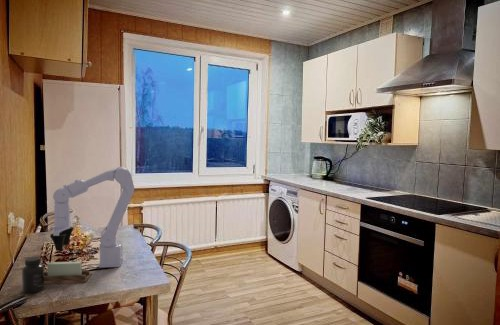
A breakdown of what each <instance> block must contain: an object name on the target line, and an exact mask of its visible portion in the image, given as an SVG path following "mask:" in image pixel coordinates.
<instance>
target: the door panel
mask: <svg viewBox="0 0 500 325" xmlns="http://www.w3.org/2000/svg"><path fill="white" fill-rule="evenodd" d="M82 263H83V262H82V261H53V262H52V261H49V262H48V263H47V265H46V267H47V269H46V270H47V271H46V272H47V273H48V276H61V275H82V271H83V269H82V268H83V266H82V265H83V264H82Z"/></svg>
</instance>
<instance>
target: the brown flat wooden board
mask: <svg viewBox="0 0 500 325" xmlns="http://www.w3.org/2000/svg"><path fill="white" fill-rule="evenodd" d="M92 275H93V274H92V272H90V270H89V269H87V270H82V275H61V276H48V273H47V271H44V285H65V284H66V285H67V284H85V283H87V282H88V280H89V279H90V277H91V276H92Z"/></svg>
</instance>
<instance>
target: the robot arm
mask: <svg viewBox="0 0 500 325" xmlns="http://www.w3.org/2000/svg"><path fill="white" fill-rule="evenodd" d="M106 181H111V182H114V181H116V182H117V183H118V184H119V185H120V187H121V189H122V191H121V193H120V196H119V198H118V200H117V203H116V205H115V207H114V209H113V211H112V214H111V217H110V219H109V221H108V222H107V225H106V226H105V227H104V228H103V229H102V231H101V233H100V238H99V240H100V241H99V242H100V243H99V263H97V266H96V268H97V267H99V268H120V267H121V265H122V263H123V262H124V258H123V257H124V254H123V252H124V251H123V250H124V246H123V244H118V242H117V232H118V230H119V227H120V225H121V223H122V220H123V217H124V215H125V213H126V210H127V209H128V206H129V204H130V201H131V199H132V196H133V194H134V192H135V186H134V181H133V176H132V174H131V173H130V171H129V169H128V168H127V167H126V166H119V167H116V168H112V169H109V170H105V171H103V172H102V173H100V174H97V175H95V176H92V177H91V178H88V179H86V180H85V179H78V178H77V179H74V182H71V183H70V184H64V185H63V186H62V187H59V188H57V189H55V191H54V192H53V194H52V195H53V196H52V199H53V200H54V202H53V203H54V206H53V211H54V212H53V213H54V214H53V215H54V225H53V226H51V230H53V231H52V233H51V234H50V235H49V237H50V239H51V240H52V242H53V244H54V248H55V251H57V252H62V251H63V248H64V246H68V245H69V244H70V241H71V240H70V239H71V235H72V233H73V231H74V229H75V228H74V227H71V226H72V225H71V224H72V223H71V215H70V214H71V212H70V208H71V207H70V199H71V198H75V197H78V196H79V195H83V194H85V193H86V192H88V190H89V188H90V187H93V186H96V185H98V184H101V183H103V182H106Z"/></svg>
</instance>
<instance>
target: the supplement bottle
mask: <svg viewBox="0 0 500 325" xmlns="http://www.w3.org/2000/svg"><path fill="white" fill-rule="evenodd" d="M41 262H42V261H41V257H40V256H31V257H27V258H26V259H25V260H24V265H25V266H24V267H23V268H22V270H21V280H22V282H21V283H22V284H21V286H22V288H21V290H22V292H23V293H24V294H26V295H27V294H28V295H30V294H31V295H32V294H33V295H34V294H36V293H39V292H41V291H43V289H44V288H45V284H44V272H45V267H44V265H43V263H41Z"/></svg>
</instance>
